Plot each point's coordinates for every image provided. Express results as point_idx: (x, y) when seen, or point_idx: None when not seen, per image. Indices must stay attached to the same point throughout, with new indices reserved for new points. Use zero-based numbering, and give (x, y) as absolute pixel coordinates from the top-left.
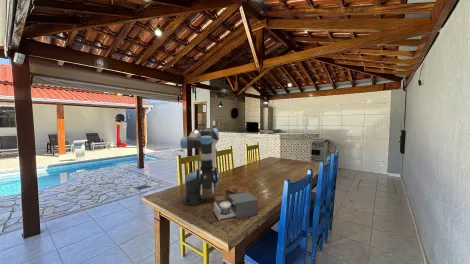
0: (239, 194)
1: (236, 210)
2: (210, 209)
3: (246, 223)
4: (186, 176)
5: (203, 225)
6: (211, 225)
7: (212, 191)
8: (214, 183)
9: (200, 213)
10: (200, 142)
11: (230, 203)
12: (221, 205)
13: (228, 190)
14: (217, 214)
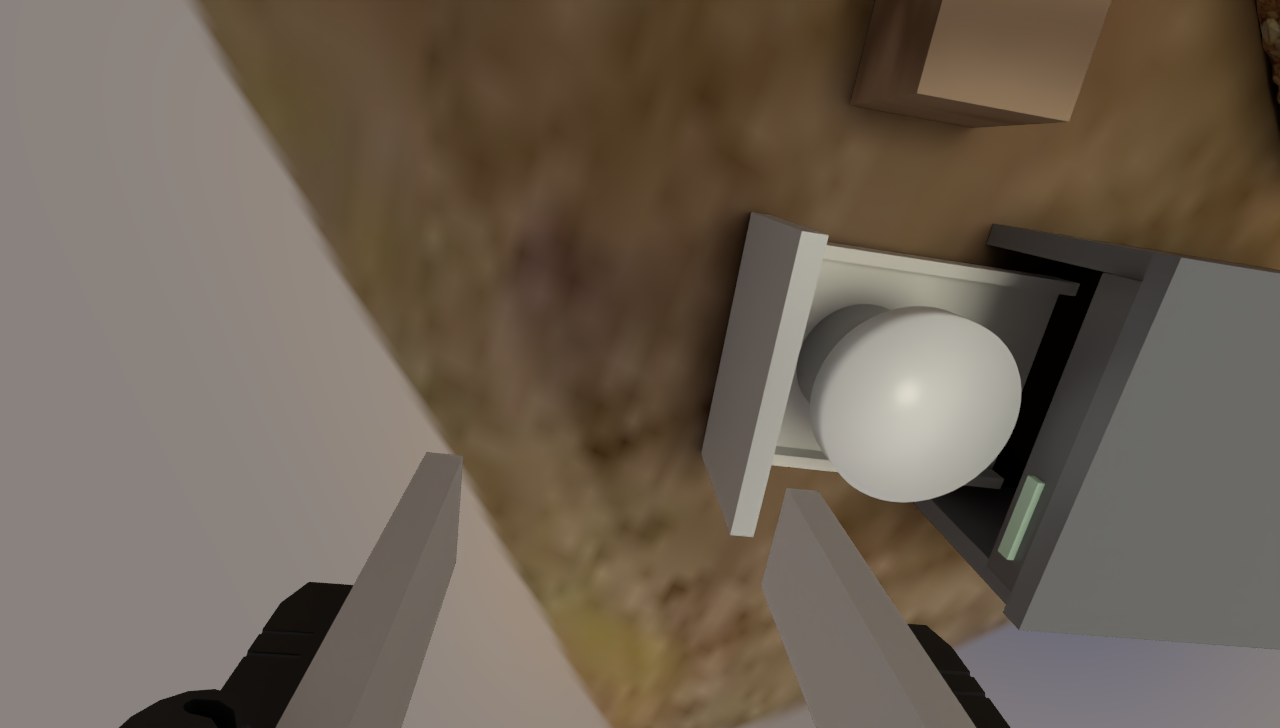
0: None
1: (959, 552)
2: (739, 89)
3: (923, 611)
4: None
5: (502, 460)
6: (587, 498)
7: (781, 565)
8: None
9: (550, 140)
10: None
11: (1001, 436)
12: (841, 433)
13: None
14: (722, 424)
